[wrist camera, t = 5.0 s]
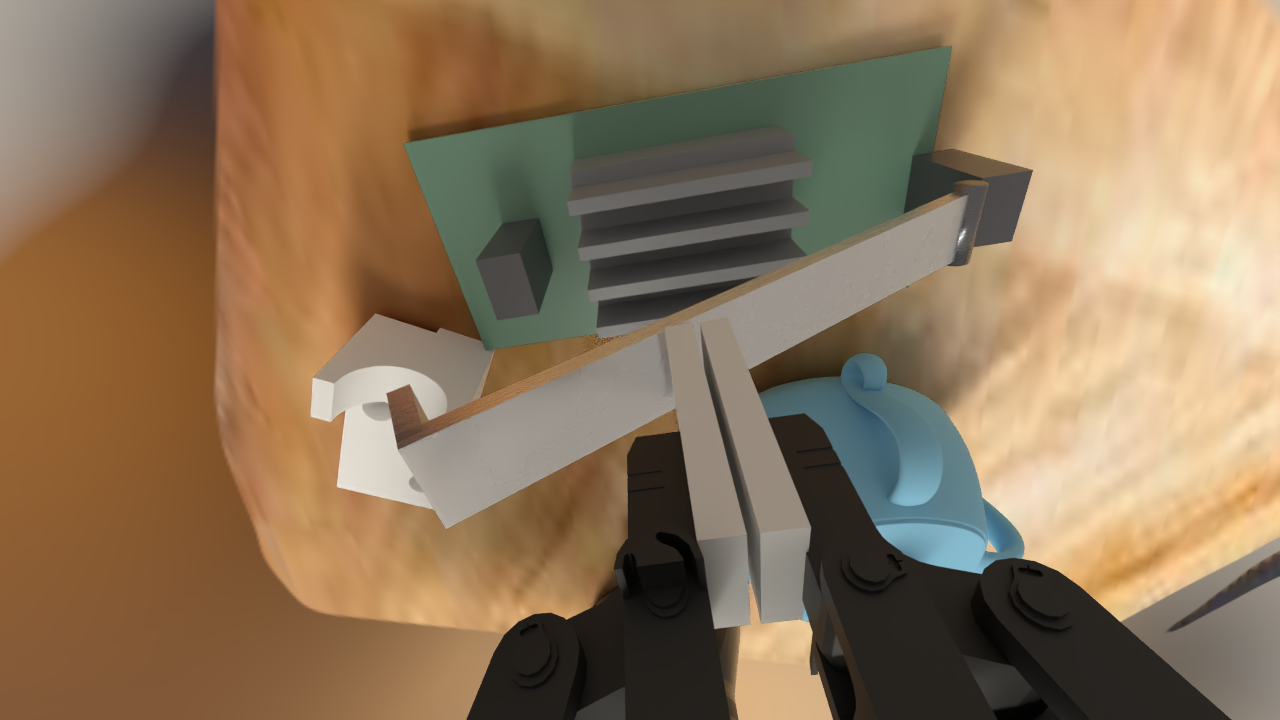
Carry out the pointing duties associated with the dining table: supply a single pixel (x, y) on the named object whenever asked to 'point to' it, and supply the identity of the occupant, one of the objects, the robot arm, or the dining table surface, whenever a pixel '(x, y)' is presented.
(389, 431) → the bracket
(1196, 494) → the dining table surface
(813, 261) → the strap
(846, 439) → the decorative pot
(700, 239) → the heatsink board
